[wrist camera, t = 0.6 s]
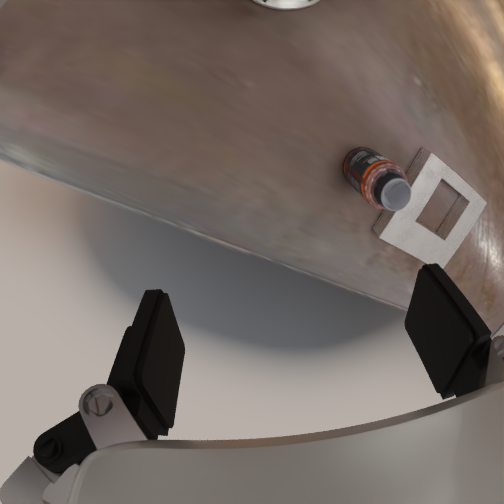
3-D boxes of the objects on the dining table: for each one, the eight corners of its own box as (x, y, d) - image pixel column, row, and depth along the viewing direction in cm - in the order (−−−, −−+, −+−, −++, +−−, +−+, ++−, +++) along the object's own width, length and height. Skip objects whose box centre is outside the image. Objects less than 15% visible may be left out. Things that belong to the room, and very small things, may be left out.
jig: (421, 147, 38) (431, 152, 36) (477, 195, 42) (487, 202, 39) (372, 228, 45) (379, 237, 42) (433, 262, 49) (440, 271, 46)
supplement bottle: (364, 193, 42) (396, 229, 32) (334, 171, 40) (361, 203, 31) (388, 162, 40) (427, 190, 30) (358, 138, 38) (394, 159, 28)
